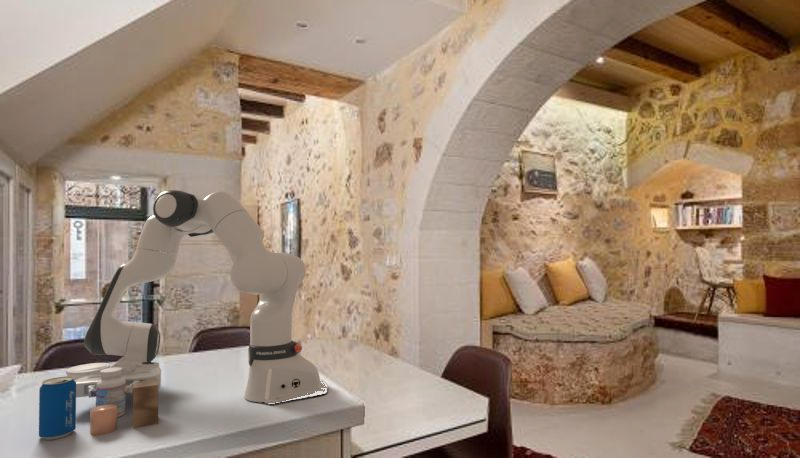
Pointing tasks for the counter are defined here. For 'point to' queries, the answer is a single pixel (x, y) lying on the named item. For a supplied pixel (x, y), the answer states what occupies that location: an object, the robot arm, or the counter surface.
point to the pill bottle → (111, 389)
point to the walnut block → (145, 403)
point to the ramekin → (86, 370)
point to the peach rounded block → (103, 419)
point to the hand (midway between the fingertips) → (110, 392)
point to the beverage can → (57, 407)
